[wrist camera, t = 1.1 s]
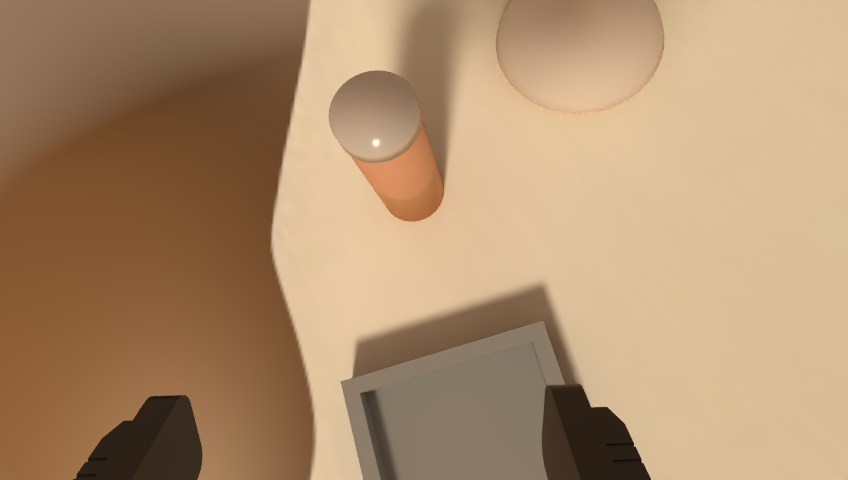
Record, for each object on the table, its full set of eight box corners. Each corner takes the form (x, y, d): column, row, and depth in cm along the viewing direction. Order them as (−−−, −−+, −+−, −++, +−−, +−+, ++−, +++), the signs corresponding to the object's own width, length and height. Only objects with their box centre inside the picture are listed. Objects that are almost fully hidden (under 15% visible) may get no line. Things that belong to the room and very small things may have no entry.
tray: (541, 324, 36) (543, 320, 34) (614, 540, 33) (623, 552, 30) (351, 381, 37) (340, 381, 35) (402, 597, 34) (394, 613, 31)
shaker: (434, 153, 41) (404, 58, 29) (453, 211, 39) (428, 136, 28) (374, 173, 41) (319, 87, 29) (390, 231, 40) (340, 165, 28)
